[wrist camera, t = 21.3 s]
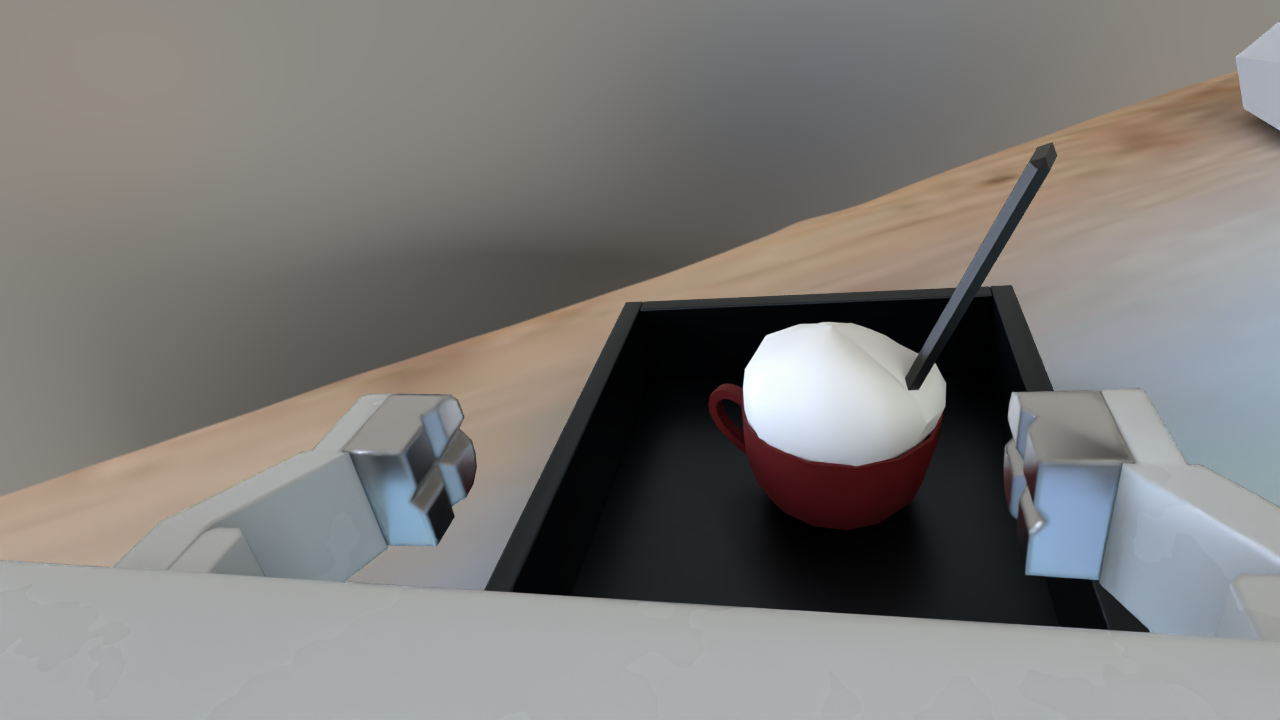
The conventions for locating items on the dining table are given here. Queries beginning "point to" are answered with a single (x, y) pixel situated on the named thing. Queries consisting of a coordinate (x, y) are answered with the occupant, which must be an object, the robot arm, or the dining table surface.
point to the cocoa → (855, 400)
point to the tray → (745, 515)
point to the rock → (1262, 77)
